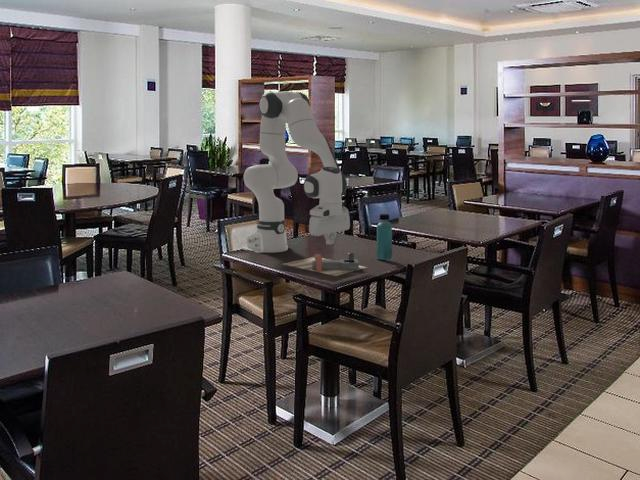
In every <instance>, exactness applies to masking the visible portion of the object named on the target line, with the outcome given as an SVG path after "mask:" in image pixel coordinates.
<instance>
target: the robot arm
mask: <svg viewBox="0 0 640 480" xmlns="http://www.w3.org/2000/svg"><path fill="white" fill-rule="evenodd" d="M258 102H259V103H258V109H259V112H260V114H261V119H260V126H259V127H260V129H259V130H260V131H259V150H260V152H261V153H262V154H263V155H265V156H266V157H268V160H269V163H266V164H255V165H251V166H248V167H246V169H245V170H244V173H243V182H244V185H245V186H246V187H247V188H248V189H249V191H251V192H252V193H253V195H254V196H255V198H256V200H257V203H258V214H259V215H258V216H259V219H258V220H257V221H256V220H255V225H256V228H255V229H254V230H253V231H252V232H251V233H250V234H248V235H247V237H246V245H244V246H241V250H244V251H251V252H253V253H254V252H255V253H256V254H257V253H260V254H261V253H281V252H286V251H288V249H289V246H288V240H287V232H286V219H285V203H284V202H283V200H282V199H281V198H279V197H277V196H276V195H275V193H274V190H275V189H276V190H277V189H286V188H289V187H293V186H294V185H296V183H297V181H298V177H299V176H298V175H299V173H298V169H297V168H296V166H294V165H293V164H292V163H291V162H290V160H289V157H288V155H287V151H286V129H287V128H288V133H289V135H290V137H291V140H292V141H293V143H294V144H295V145H297V146H299V147H300V148H303V149H306V150H309V151H312V152H313V153H315V154H316V155H318V157H319V158H320V161H321V162H322V165H323V167H322V168H321V169H320V171H318V172H315V173H313V174H308V175H307V176H305V178H304V181H303V185H302V186H303V191H304V192H303V193H304V194H305V195H306V196H307V197H308V198H310V199H311V198H312V199H319V202H318V203H319V204H318V205H316V206H314V207H313V208H311V209H310V210H309V216H310V218H309V222H308V223H309V224H308V227H309V228H308V231H309V234H310V236H312V237H320V236H324V239H325V244H326V245H329V246H330V245H333V244H335V239H336V237H337V233H339V232H345V231H348V230H349V229H350V227H351V221H350V219H351V218H350V214H349V213H350V212H349V209H348V208H347V207H346V206H343V200H342V196H343V195H344V194H345V193H346V190H347V188H348V182H347V181H348V180H347V179H346V177H345V174H343V173H344V172H342V170H341V168H340V166H339V164H338V161H337V158H336V156H335V154H334V152H333V149H332V147H331V145H330V142H329V141H328V139H327V137H325V136H324V135H323V134H322V132H320V130H319V128H318V126H317V124H316V120H315V117H314V114H313V111H312V109H311V107H310V101H309V97H308V95H306V93H303V92H299V91H296V92H293V91H276V92H272V91H269V92H266V93H263V94H262V95H261V96H260V99H259V101H258ZM286 124H287V128H286Z"/></svg>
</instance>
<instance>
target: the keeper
mask: <svg viewBox="0 0 640 480" xmlns="http://www.w3.org/2000/svg"><path fill="white" fill-rule="evenodd" d="M313 257H314V258H315V260H316V271H322V258H323V256H322V255H321V253H314V254H313Z"/></svg>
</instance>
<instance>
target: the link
mask: <svg viewBox="0 0 640 480" xmlns="http://www.w3.org/2000/svg"><path fill="white" fill-rule="evenodd" d="M359 266H360V265H359V260H358V258H354V262H349V258H348V259H347V258H342V259H341V258H340V259H339V260H338V259H337V260H336V259H335V260H333V259H329V260H322V270H341V271H352V272H356V271H360V270H359ZM312 270H316V261H312Z"/></svg>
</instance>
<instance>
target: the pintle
mask: <svg viewBox="0 0 640 480" xmlns="http://www.w3.org/2000/svg"><path fill="white" fill-rule="evenodd" d="M354 257H355V253H354V252H348V259H349V262H354V259H355V258H354Z"/></svg>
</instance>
